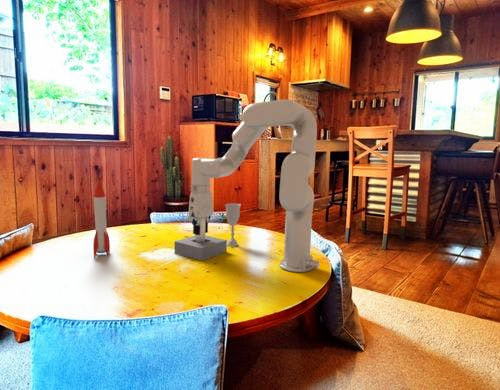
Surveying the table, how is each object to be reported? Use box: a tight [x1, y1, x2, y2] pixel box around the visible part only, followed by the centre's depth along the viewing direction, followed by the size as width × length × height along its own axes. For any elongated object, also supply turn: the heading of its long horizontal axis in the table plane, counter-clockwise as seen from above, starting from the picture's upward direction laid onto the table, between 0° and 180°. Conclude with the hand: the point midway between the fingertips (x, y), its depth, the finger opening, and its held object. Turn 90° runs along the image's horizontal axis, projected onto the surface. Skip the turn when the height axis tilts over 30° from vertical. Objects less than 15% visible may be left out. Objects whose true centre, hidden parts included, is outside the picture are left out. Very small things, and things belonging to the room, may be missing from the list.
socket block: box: [174, 234, 228, 262], centre depth 152 cm, size 15×15×5 cm
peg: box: [194, 217, 206, 243], centre depth 151 cm, size 4×4×12 cm
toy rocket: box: [92, 179, 111, 258], centre depth 145 cm, size 6×6×30 cm
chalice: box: [224, 203, 242, 248], centre depth 163 cm, size 7×7×18 cm
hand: (200, 232), depth 151 cm, fingers closed on peg, 4 cm apart
